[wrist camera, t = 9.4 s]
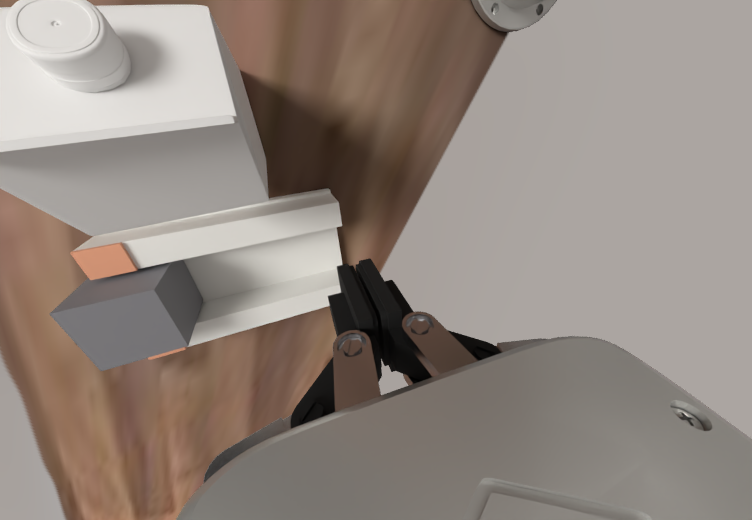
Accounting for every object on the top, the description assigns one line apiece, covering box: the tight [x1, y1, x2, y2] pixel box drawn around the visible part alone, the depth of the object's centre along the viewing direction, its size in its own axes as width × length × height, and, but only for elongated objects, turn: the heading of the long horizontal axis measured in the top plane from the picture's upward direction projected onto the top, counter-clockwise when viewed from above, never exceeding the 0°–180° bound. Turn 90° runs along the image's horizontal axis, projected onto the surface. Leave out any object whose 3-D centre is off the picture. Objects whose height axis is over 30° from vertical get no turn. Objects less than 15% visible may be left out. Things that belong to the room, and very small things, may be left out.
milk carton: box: [0, 0, 269, 236], centre depth 15 cm, size 7×7×19 cm
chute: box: [71, 188, 342, 360], centre depth 27 cm, size 20×12×5 cm, turn 95°
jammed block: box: [50, 260, 203, 371], centre depth 23 cm, size 6×6×7 cm
